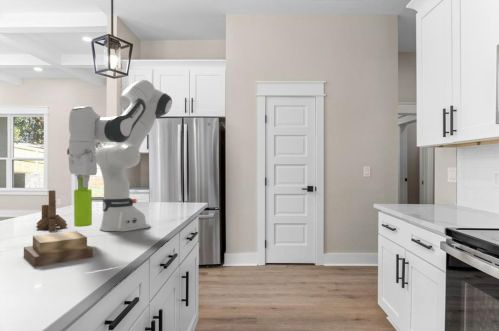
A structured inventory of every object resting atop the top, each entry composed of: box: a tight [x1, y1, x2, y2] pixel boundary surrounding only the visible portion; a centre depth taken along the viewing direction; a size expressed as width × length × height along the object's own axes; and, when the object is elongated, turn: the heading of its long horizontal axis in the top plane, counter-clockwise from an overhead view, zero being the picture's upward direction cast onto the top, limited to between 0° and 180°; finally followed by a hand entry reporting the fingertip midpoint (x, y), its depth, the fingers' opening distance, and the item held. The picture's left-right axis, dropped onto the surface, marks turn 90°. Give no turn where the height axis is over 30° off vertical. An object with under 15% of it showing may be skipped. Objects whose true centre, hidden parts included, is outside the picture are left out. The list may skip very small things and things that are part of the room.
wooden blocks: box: [35, 189, 68, 232], centre depth 162 cm, size 25×12×18 cm, turn 31°
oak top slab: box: [32, 230, 88, 255], centre depth 110 cm, size 13×13×4 cm
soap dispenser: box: [73, 175, 93, 228], centre depth 128 cm, size 6×7×20 cm
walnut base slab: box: [23, 245, 94, 267], centre depth 110 cm, size 16×16×4 cm
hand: (83, 187), depth 127 cm, fingers closed on soap dispenser, 3 cm apart
